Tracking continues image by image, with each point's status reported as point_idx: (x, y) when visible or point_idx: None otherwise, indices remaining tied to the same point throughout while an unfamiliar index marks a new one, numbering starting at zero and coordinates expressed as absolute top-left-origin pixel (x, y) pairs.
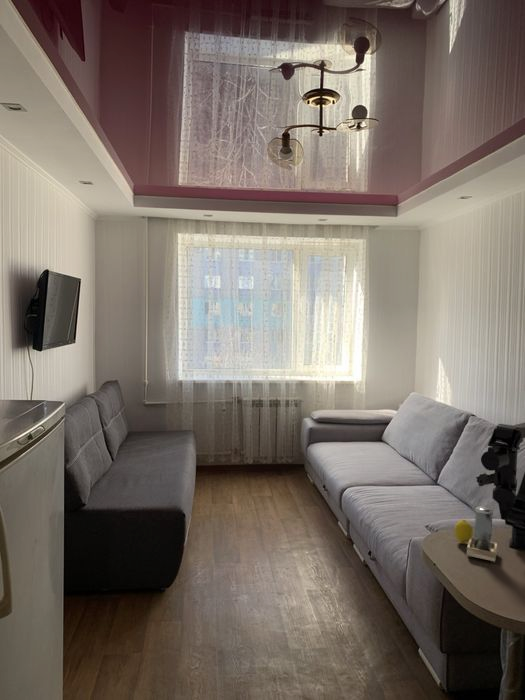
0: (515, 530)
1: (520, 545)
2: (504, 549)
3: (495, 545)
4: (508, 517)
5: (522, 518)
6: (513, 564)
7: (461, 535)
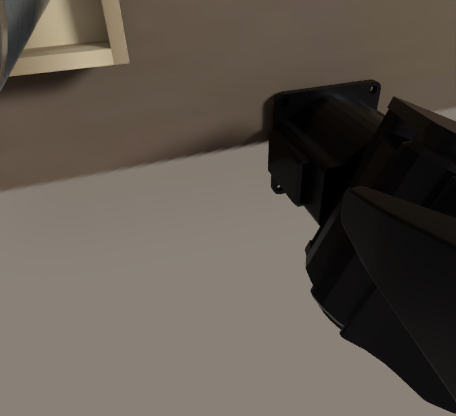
0: (323, 164)
1: (272, 158)
2: (226, 74)
3: (68, 59)
4: (373, 163)
5: (324, 281)
6: (37, 156)
7: None
